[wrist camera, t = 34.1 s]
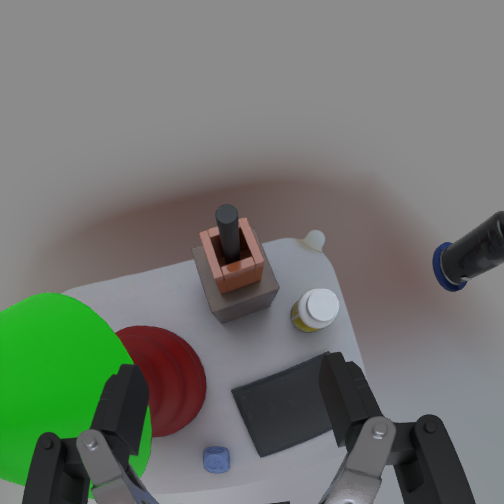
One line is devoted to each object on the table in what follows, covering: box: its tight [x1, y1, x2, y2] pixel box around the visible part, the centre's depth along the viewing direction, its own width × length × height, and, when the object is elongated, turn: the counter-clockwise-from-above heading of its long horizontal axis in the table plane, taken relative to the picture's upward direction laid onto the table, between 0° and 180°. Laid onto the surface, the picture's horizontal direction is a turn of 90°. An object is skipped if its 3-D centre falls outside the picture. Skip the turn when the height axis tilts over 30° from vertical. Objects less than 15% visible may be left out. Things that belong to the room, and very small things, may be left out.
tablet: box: [231, 351, 332, 457], centre depth 41 cm, size 18×14×1 cm
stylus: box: [216, 204, 241, 265], centre depth 28 cm, size 2×2×14 cm
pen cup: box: [199, 217, 265, 294], centre depth 32 cm, size 5×5×8 cm
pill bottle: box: [291, 289, 339, 332], centre depth 42 cm, size 6×6×11 cm
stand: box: [191, 228, 279, 323], centre depth 42 cm, size 9×9×14 cm
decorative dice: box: [203, 447, 230, 473], centre depth 36 cm, size 4×4×4 cm
